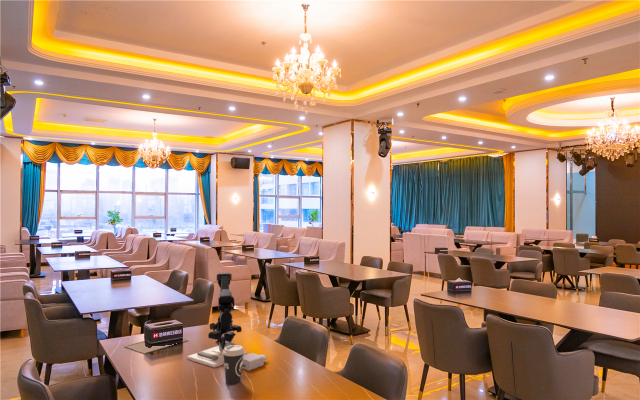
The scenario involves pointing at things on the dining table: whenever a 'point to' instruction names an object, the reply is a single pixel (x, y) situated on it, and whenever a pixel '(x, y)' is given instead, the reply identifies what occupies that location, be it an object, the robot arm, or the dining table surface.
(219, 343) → the cream plate grey block
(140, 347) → the picture frame
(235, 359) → the coffee cup
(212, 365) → the board
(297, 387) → the dining table surface
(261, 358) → the charger
